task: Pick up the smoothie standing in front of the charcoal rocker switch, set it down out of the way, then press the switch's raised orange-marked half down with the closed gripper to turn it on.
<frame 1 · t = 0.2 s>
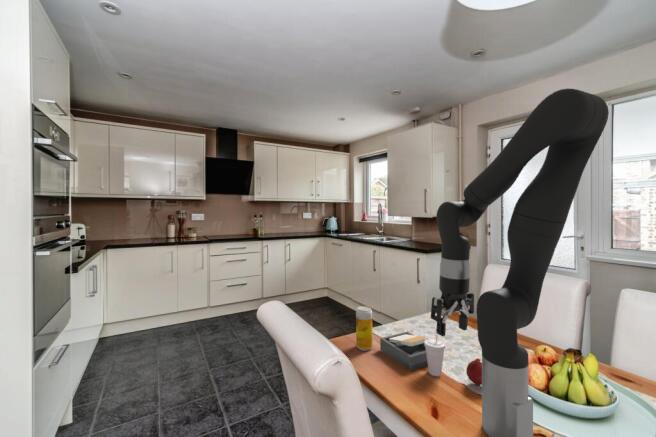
hand: (452, 332, 80), 18 cm above the table, tool pointing down, fingers open, 8 cm apart
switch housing: (408, 355, 104), on the table
smoothie: (434, 373, 92), on the table
rocker: (408, 340, 104), point 5 cm above the table, hinge at 15.0°
onion: (477, 385, 86), on the table
glass of beer: (364, 348, 110), on the table
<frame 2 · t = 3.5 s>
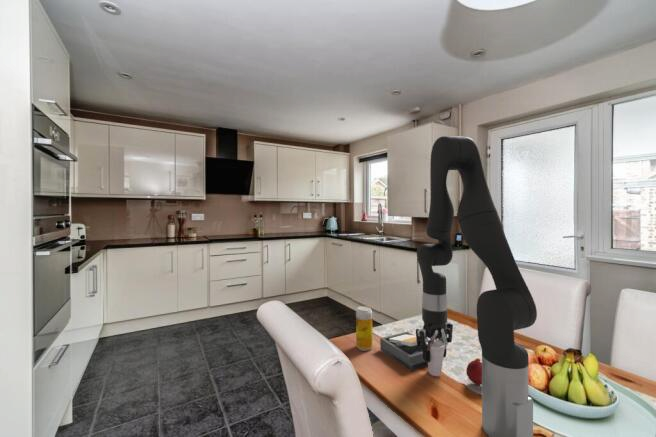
hand: (434, 358, 92), 5 cm above the table, tool pointing down, fingers closed on smoothie, 6 cm apart
smoothie: (434, 373, 92), on the table, touching gripper
everything else where it was.
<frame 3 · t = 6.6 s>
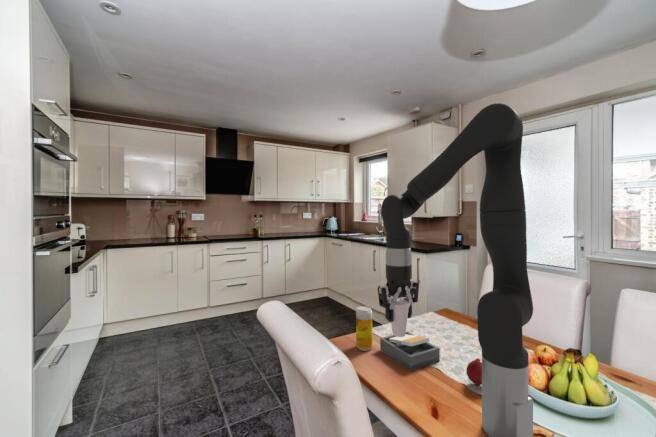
hand: (399, 318, 86), 20 cm above the table, tool pointing down, fingers closed on smoothie, 6 cm apart
smoothie: (399, 334, 86), point 15 cm above the table, touching gripper
everything else where it was.
when the fingers open (6 cm above the table, at t = 10.0 s): smoothie stays where it is, on the table.
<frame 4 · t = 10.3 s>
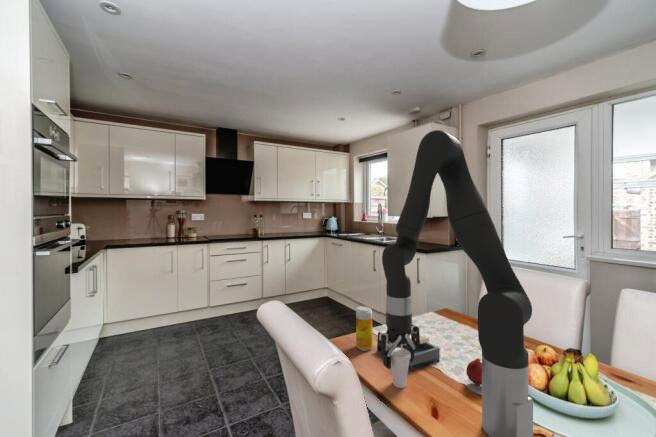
hand: (399, 364, 86), 6 cm above the table, tool pointing down, fingers open, 8 cm apart
smoothie: (399, 384, 87), on the table
everything else where it was.
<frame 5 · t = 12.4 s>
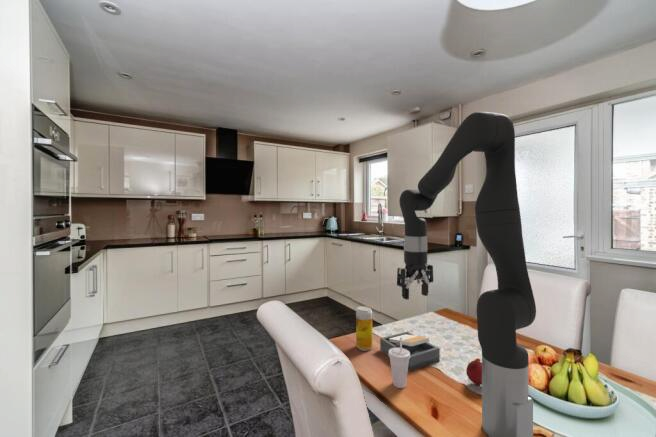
hand: (415, 297, 98), 23 cm above the table, tool pointing down, fingers open, 8 cm apart
nothing on the table moved.
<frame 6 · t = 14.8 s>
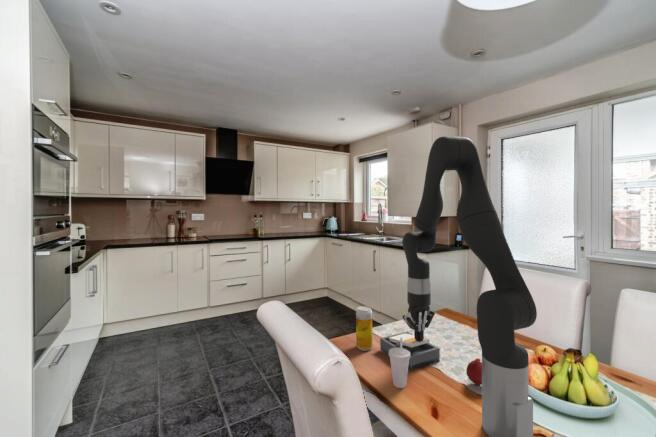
hand: (419, 340, 99), 7 cm above the table, tool pointing down, fingers closed
rocker: (408, 340, 104), point 5 cm above the table, hinge at 11.7°, touching gripper
everything else where it was.
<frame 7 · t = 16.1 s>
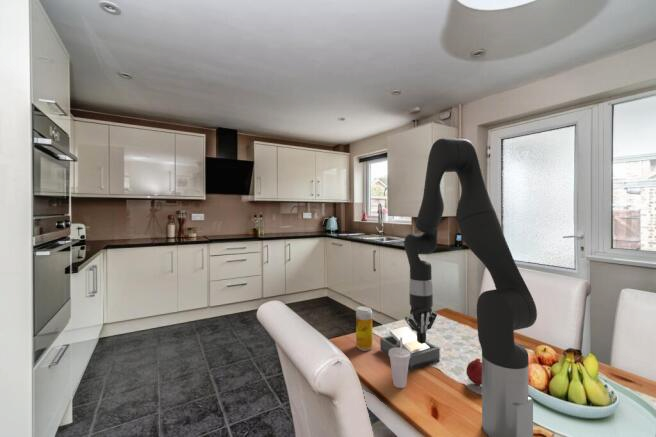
hand: (421, 342, 99), 7 cm above the table, tool pointing down, fingers closed
rocker: (408, 341, 104), point 5 cm above the table, hinge at -16.6°
everything else where it was.
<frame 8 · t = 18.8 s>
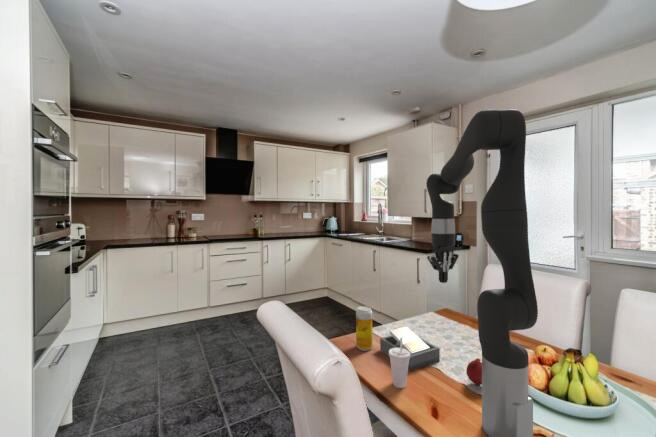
hand: (443, 282, 100), 27 cm above the table, tool pointing down, fingers closed
nothing on the table moved.
at the end: rocker at -17° (first picture: +15°); smoothie inside the target area (0.1 cm from its centre), on the table; smoothie tilted 0° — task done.
